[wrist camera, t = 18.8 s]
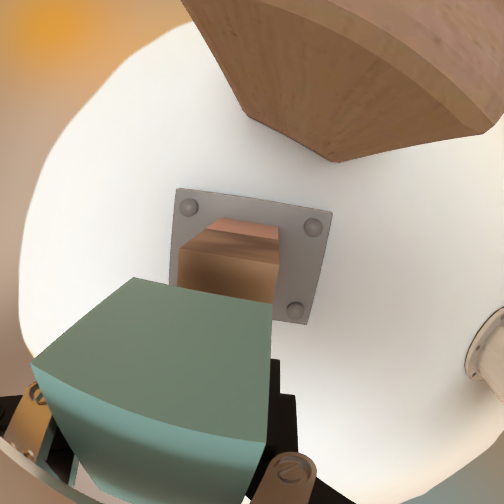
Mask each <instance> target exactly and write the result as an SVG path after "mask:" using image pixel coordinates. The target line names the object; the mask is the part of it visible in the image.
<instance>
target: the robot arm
mask: <svg viewBox="0 0 504 504" xmlns="http://www.w3.org/2000/svg"><path fill="white" fill-rule="evenodd" d="M465 370H466V373H467V375H468V376H469V378H470V379H471V380H473V381H482V380H485V381H486V382H487V384H488V385H489V386H490V387H491V389H492V390H493V391H494V393H495V394H496V395H497V397H498V398H499V399H500V401H501V402H502V403H503V405H504V308H502V309H500V310H499V311H497V312H496V313H495V314H494V315H493V316H492V317H490V318H489V320H488V321H487V322H486V323H485V324H484V325H483V327H482V328H481V330H480V331H479V332H478V334H477V336H476V337H475V339H474V341H473V343H472V345H471V347H470V349H469V352H468V355H467V358H466V364H465ZM78 464H79V460H78V458H77V457H76V455H75V454H74V452H73V451H72V449H71V447H70V446H69V444H68V442H67V441H66V439H65V437H64V436H63V434H62V432H61V430H60V429H59V427H58V425H57V423H56V421H55V419H54V417H53V415H52V413H51V411H50V409H49V407H48V405H47V403H46V401H45V399H44V397H43V394H42V392H41V390H40V388H39V385H38V383H37V381H35V382H33V383H32V384H30V385H29V386H28V388H27V389H26V391H25V393H24V395H17V396H6V397H0V504H103V503H100V502H98V501H96V500H94V499H92V498H90V497H88V496H86V495H84V494H83V493H80V492H79V491H77V490H75V489H74V485H75V479H76V474H77V469H78ZM316 474H317V469H316V466H315V464H314V462H313V461H312V460H311V459H310V458H309V457H307V456H306V455H303V454H301V453H298V436H297V416H296V399H295V395H290V394H281V393H280V360H278V359H271V358H270V380H269V401H268V420H267V437H266V445H265V447H264V450H263V453H262V455H261V458H260V460H259V463H258V465H257V468H256V470H255V473H254V475H253V478H252V480H251V482H250V485H249V487H248V489H247V492H246V494H245V495H246V496H247V497H248V498H249V499H250V500H251V502H250V504H356V503H354V502H352V501H351V500H349V499H348V498H346V497H345V496H343V495H342V494H340V493H339V492H337V491H336V490H334V489H333V488H331V487H330V486H328V485H327V484H326V483H324V482H323V481H321V480H320V479H319V478H317V477H316Z"/></svg>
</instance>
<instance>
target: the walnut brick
mask: <svg viewBox="0 0 504 504" xmlns="http://www.w3.org/2000/svg"><path fill="white" fill-rule="evenodd" d="M279 265H280V264H279V240H277V239H271V238H264V237H258V236H252V235H245V234H239V233H232V232H226V231H219V230H212V229H205V230H203V231H202V232H201V233H199V234H198V235H197V236H195V237H194V238H192V239H191V240H190V241H188V242H187V243H186V244H184V245H183V246H181V247H180V248H179V255H178V272H177V287H181V288H186V289H191V290H196V291H201V292H207V293H212V294H217V295H223V296H228V297H234V298H239V299H245V300H251V301H257V302H263V303H269V304H272V303H273V298H274V292H275V287H276V281H277V276H278V271H279Z"/></svg>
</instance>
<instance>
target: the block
mask: <svg viewBox="0 0 504 504" xmlns="http://www.w3.org/2000/svg"><path fill="white" fill-rule="evenodd" d="M181 2H182V3H183V5H184V7H185V8H186V10H187V11H188V13H189V15H190V16H191V17H192V20H193V21H194V23H195V25H196V26H197V28H198V30H199V31H200V33H201V35H202V36H203V38H204V40H205V42H206V43H207V45H208V47H209V48H210V50H211V52H212V54H213V56H214V57H215V59H216V61H217V63H218V64H219V66H220V68H221V70H222V72H223V74H224V75H225V77H226V79H227V81H228V83H229V85H230V87H231V88H232V90H233V92H234V94H235V96H236V98H237V100H238V102H239V104H240V106H241V108H242V110H243V111H244V112H245V113H246V114H247V115H248V117H250V118H252V119H255V120H257V121H259V122H261V123H263V124H265V125H267V126H269V127H271V128H273V129H275V130H276V131H278V132H280V133H282V134H284V135H286V136H288V137H290V138H292V139H293V140H295V141H297V142H299V143H301V144H302V145H304V146H306V147H308V148H309V149H311V150H313V151H315V152H316V153H318V154H320V155H321V156H323V157H325V158H326V159H328V160H330V161H332V162H338V163H340V162H344V161H348V160H352V159H356V158H360V157H365V156H369V155H373V154H377V153H382V152H386V151H391V150H396V149H400V148H405V147H410V146H415V145H420V144H425V143H431V142H436V141H442V140H448V139H454V138H460V137H467V136H474V135H481V134H484V133H485V132H486V131H488V130H489V129H490V128H492V127H493V126H494V125H495V124H496V123H497V121H498V120H499V119H500V117H501V116H502V115H503V113H504V0H181Z"/></svg>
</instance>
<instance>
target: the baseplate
mask: <svg viewBox="0 0 504 504" xmlns="http://www.w3.org/2000/svg"><path fill="white" fill-rule="evenodd" d="M332 214H333V213H331V212H328V211H323V210H318V209H313V208H307V207H302V206H296V205H291V204H285V203H279V202H273V201H267V200H261V199H254V198H248V197H241V196H235V195H228V194H220V193H213V192H206V191H198V190H190V189H181V188H179V189H176V195H175V204H174V214H173V225H172V237H171V252H170V269H169V285H172V286H176V287H177V272H178V255H179V248H180V247H181V246H183V245H184V244H186V243H187V242H188V241H190V240H191V239H192V238H194V237H195V236H197V235H198V234H199V233H201V232H202V231H203V230H205V229H212V230H219V231H226V232H232V233H239V234H245V235H252V236H258V237H264V238H271V239H277V240H279V264H280V265H279V271H278V276H277V281H276V287H275V292H274V298H273V303H272V320H277V321H284V322H290V323H297V324H304V325H307V322H308V318H309V315H310V311H311V307H312V303H313V299H314V295H315V291H316V287H317V283H318V279H319V275H320V271H321V266H322V262H323V258H324V253H325V249H326V244H327V239H328V235H329V230H330V225H331V220H332Z"/></svg>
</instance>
